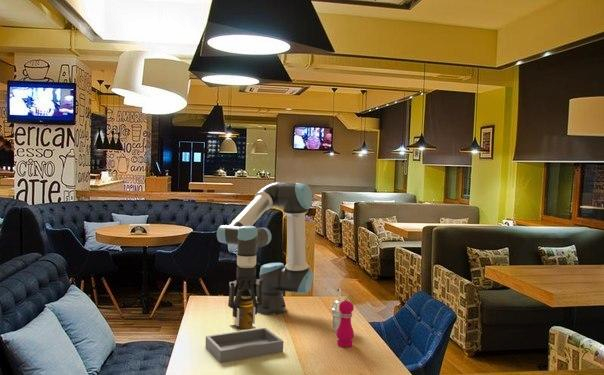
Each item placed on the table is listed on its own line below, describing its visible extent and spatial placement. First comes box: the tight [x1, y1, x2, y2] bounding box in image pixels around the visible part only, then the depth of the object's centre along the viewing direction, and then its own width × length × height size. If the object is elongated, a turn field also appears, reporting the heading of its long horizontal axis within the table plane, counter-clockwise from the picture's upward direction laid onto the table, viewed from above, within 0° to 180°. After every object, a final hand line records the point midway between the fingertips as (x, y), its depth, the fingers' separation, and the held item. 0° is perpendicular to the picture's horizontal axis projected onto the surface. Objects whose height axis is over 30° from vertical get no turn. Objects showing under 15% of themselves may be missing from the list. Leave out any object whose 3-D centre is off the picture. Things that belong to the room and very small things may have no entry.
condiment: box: [228, 295, 257, 332], centre depth 205 cm, size 7×8×12 cm
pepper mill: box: [336, 296, 355, 349], centre depth 215 cm, size 7×7×20 cm
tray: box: [205, 327, 284, 364], centre depth 206 cm, size 26×17×4 cm, turn 119°
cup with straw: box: [329, 287, 344, 333], centre depth 232 cm, size 8×9×20 cm
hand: (244, 323), depth 205 cm, fingers closed on condiment, 6 cm apart
